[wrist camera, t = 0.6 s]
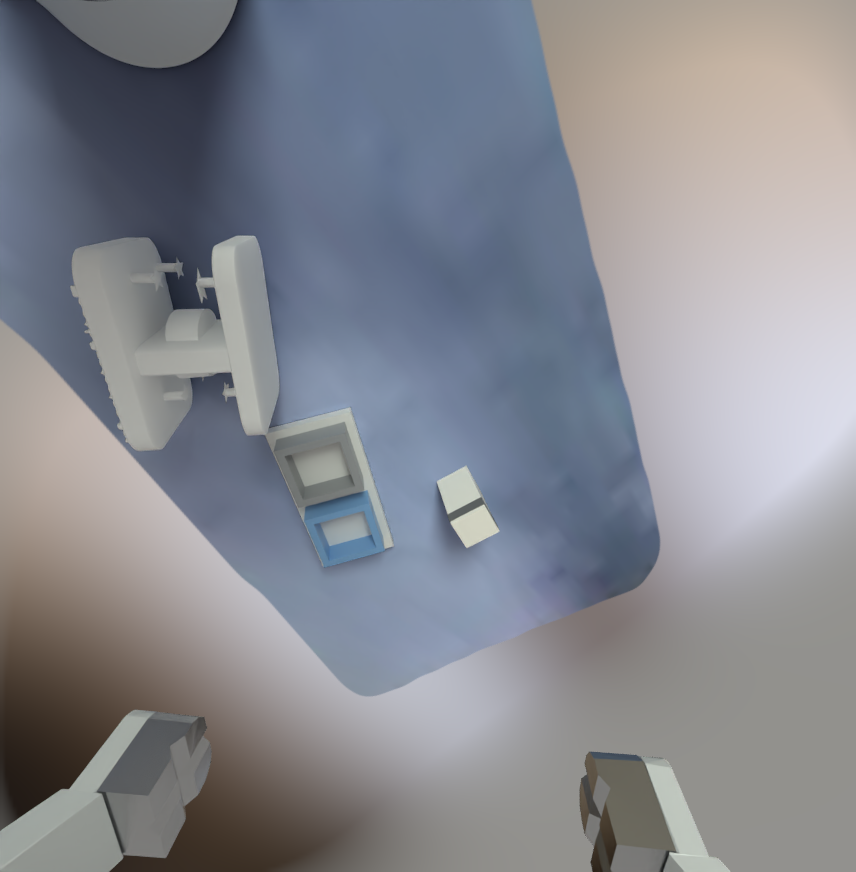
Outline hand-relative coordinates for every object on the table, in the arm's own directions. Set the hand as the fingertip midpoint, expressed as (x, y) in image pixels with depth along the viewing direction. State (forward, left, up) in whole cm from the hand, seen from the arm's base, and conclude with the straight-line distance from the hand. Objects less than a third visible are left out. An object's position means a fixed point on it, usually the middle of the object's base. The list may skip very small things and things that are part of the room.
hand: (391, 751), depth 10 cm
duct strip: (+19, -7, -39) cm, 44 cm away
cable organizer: (-2, -12, -39) cm, 41 cm away
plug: (+23, +7, -39) cm, 46 cm away
